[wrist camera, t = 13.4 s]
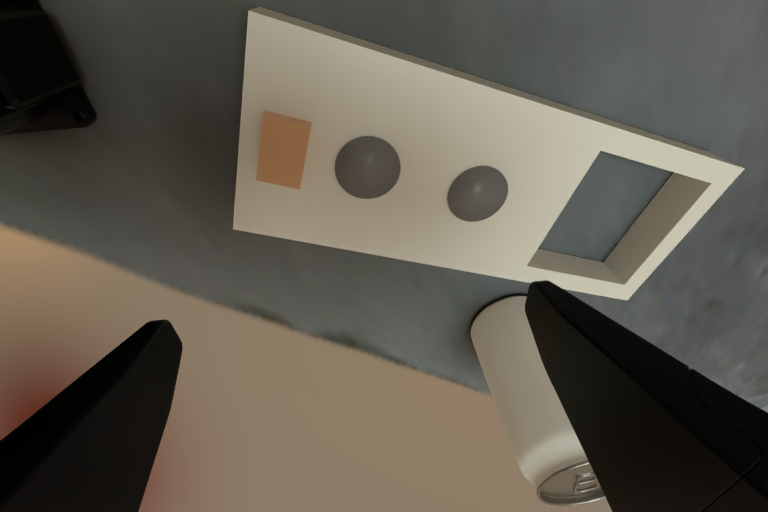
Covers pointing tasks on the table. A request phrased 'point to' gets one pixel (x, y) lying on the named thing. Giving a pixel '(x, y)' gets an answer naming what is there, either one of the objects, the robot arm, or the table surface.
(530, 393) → the can
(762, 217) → the table surface
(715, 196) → the control panel
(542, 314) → the robot arm
